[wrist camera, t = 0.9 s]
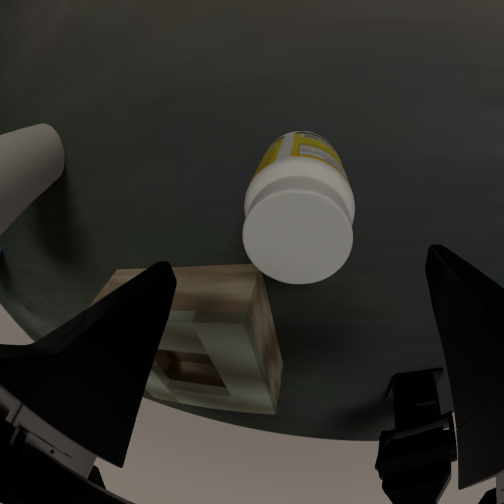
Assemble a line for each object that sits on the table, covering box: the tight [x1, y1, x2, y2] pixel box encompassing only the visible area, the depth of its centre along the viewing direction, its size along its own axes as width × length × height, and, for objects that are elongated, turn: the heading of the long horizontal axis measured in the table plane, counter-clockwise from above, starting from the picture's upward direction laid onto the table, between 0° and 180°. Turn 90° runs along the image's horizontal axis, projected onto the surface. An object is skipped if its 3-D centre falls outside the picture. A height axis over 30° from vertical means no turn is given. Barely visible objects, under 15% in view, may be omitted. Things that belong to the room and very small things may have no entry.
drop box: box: [89, 264, 283, 414], centre depth 25 cm, size 14×14×6 cm
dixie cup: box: [0, 124, 65, 235], centre depth 15 cm, size 8×8×10 cm
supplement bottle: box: [243, 131, 355, 284], centre depth 13 cm, size 5×5×8 cm
